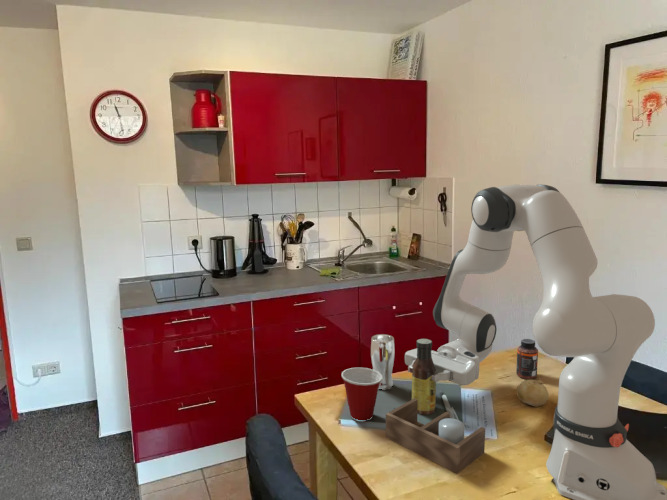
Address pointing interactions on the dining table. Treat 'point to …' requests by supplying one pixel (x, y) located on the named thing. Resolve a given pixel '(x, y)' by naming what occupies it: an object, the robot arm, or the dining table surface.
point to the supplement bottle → (527, 359)
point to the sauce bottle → (424, 378)
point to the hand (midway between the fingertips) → (421, 374)
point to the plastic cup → (361, 391)
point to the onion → (532, 392)
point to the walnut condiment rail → (432, 438)
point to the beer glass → (383, 358)
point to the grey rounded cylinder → (451, 430)
